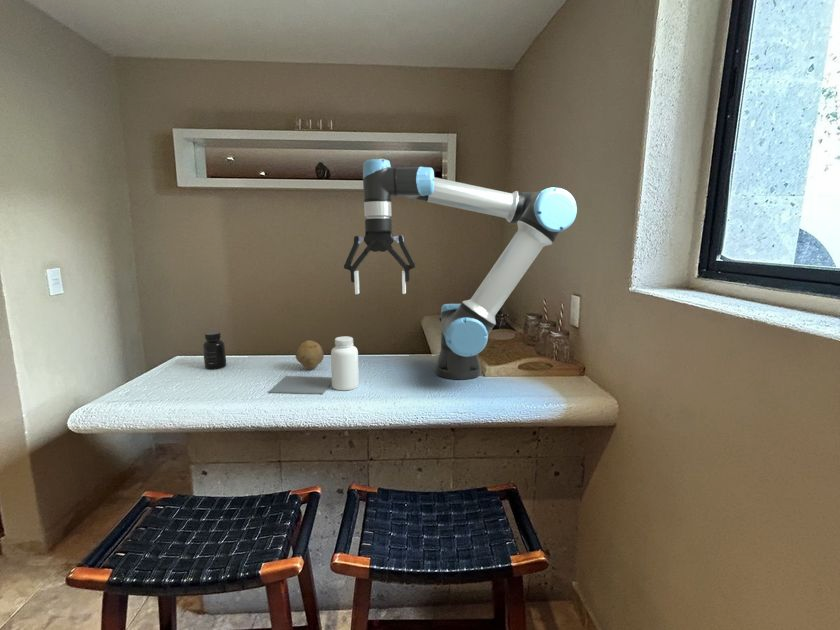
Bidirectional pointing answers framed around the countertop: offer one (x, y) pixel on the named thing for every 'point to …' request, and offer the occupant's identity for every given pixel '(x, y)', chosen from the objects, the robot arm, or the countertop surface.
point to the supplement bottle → (214, 351)
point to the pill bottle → (344, 364)
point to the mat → (302, 385)
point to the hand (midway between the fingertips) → (380, 293)
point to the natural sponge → (309, 354)
